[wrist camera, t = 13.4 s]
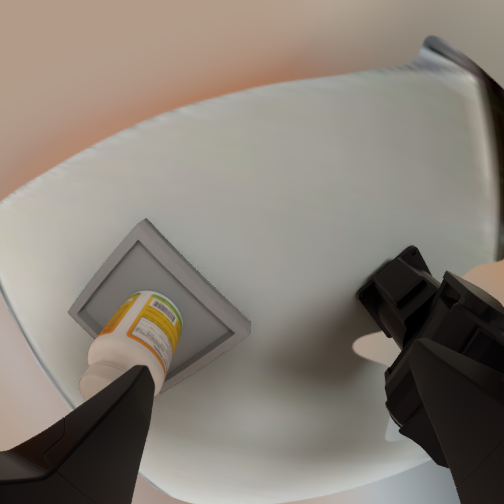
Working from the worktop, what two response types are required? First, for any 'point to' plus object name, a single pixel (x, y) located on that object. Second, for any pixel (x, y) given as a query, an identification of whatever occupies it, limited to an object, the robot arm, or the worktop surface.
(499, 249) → the worktop surface
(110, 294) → the charcoal tray
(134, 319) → the supplement bottle
